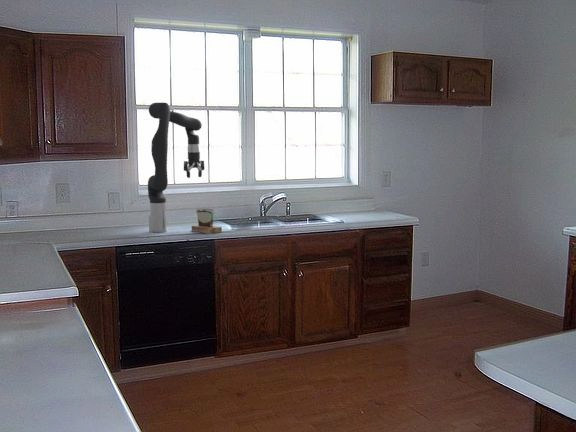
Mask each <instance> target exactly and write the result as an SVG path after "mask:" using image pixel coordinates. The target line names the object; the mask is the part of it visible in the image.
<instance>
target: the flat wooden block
mask: <svg viewBox="0 0 576 432" xmlns="http://www.w3.org/2000/svg"><path fill="white" fill-rule="evenodd" d="M192 230H194V231H193V232H196V231H199V232H198V233H201V232H202V233H201V234H207V235H209V234H210V235H211V234H217V233H218V234H219V233H222V232H223V231H222V226H218V225H213V227H202V226H198V224H197V225H195V224H194V225H191V231H192Z"/></svg>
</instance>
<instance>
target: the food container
mask: <svg viewBox="0 0 576 432" xmlns="http://www.w3.org/2000/svg"><path fill="white" fill-rule="evenodd" d="M196 214H197V215H196V216H197V225H198V226H202V227H213V226H214V214H215V209H211V208H198V209H196Z"/></svg>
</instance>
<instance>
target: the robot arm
mask: <svg viewBox="0 0 576 432" xmlns="http://www.w3.org/2000/svg"><path fill="white" fill-rule="evenodd" d="M148 113H149V115H150V117H152V118H153V119H156V120H157V119H158V127H157V130H156V131H155V133H154V135H153V137H152V139H151V146H150V147H151V152H150V153H151V157H152V160H153V163H154V174H153V175H151V176H150V177H149V178H148V180H147V191H148V192H147V194H148V195H147V196H148V199H149V215H148V232H150V233H166V232H167V198H166V197H165V195H164V191H166V189H167V187H168V184H169V183H168V182H169V180H168V151H169V149H168V148H169V147H168V145H169V141H168V140H169V139H168V138H169V127H170V123H173V124H175V125H177V126H179V127H182V128H184V129H185V133H186V137H187V159H188V161H187V160H185V161H183V171H185V172H186V177H187V178H188V179H190V178H191V170H192V169H195V168H196V169H197V170H198V172H197V173H198V178H202V175H203V173H202V172H203V171H205V161H204V160H200V159H201V150H200V149H201V147H200V136H199V135H198V134H195V131H196V132H197V131H198V132H199V131H200V130H201V129H202V126H203V125H202V122H201V120H199V118H195V117H191V116H187V115H185V114H183V113H180V112H176V111H172V110H171V106H170V105H169V104H168V103H167V102H153V103H151V104H150V105H149V108H148Z"/></svg>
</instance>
